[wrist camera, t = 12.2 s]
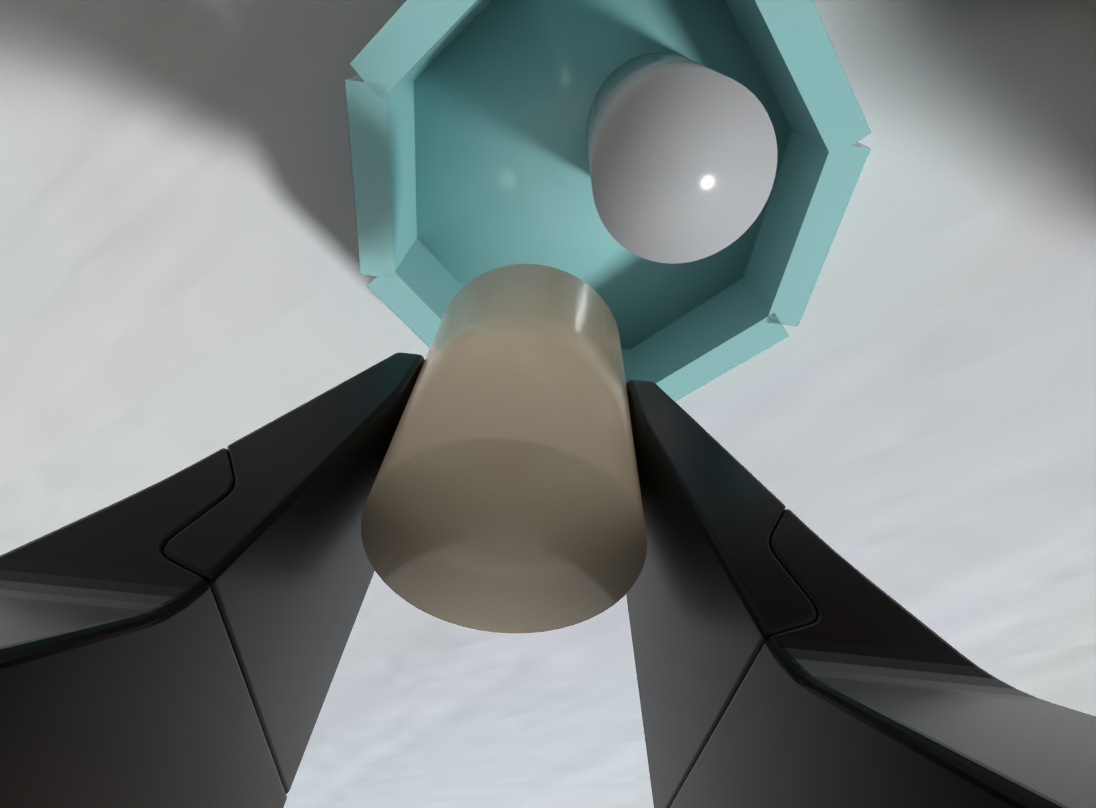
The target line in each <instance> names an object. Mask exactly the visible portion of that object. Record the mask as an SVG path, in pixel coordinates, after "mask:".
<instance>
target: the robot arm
mask: <svg viewBox="0 0 1096 808" xmlns="http://www.w3.org/2000/svg"><path fill="white" fill-rule="evenodd" d="M424 361H425V360H424V358H423V356H421V355H417V354H409V353H396V354H394V355H392V356H390V357H388V358H387V359H385V360H383V361H381V362H379V363H378V364H376V365H374V366H372V367H370V368H368V369H367V370H365V371H363V372H361V373H359V374H358V375H356V376H354V377H352V378H350V379H348V380H347V381H345V382H343V383H341V384H339V385H337V386H336V387H334V388H332V389H330V390H328V391H327V392H325V393H323V394H321V395H319V396H317V397H316V398H314V399H312V400H310V401H308V402H307V403H305V404H303V405H301V406H299V407H297V408H296V409H294V410H292V411H290V412H288V413H287V414H285V415H283V416H281V417H279V418H277V419H276V420H274V421H272V422H270V423H268V424H267V425H265V426H263V427H261V428H259V429H257V430H256V431H254V432H252V433H250V434H248V435H247V436H245V437H243V438H241V439H239V440H237V441H236V442H234V443H232V444H230V445H229V446H228V447H227V449H228V450H227V449H225V448H223V449H221V450H219V451H217V452H215V453H213V454H212V455H210V456H208V457H206V458H204V459H203V460H201V461H199V462H197V463H195V464H193V465H191V466H189V467H187V468H186V469H184V470H182V471H180V472H178V473H176V474H174V475H172V476H170V477H168V478H166V479H164V480H163V481H161V482H159V483H156V484H154V485H152V486H150V487H148V488H146V489H144V490H142V491H140V492H138V493H136V494H133V495H131V496H129V497H127V498H125V499H123V500H121V501H119V502H117V503H114V504H112V505H110V506H108V507H106V508H104V509H101V510H99V511H97V512H95V513H93V514H90V515H88V516H86V517H84V518H82V519H80V520H77V521H75V522H73V523H71V524H69V525H67V526H64V527H62V528H60V529H58V530H56V531H53V532H51V533H49V534H47V535H45V536H43V537H40V538H38V539H36V540H34V541H32V542H29V543H27V544H25V545H23V546H21V547H19V548H16V549H14V550H12V551H10V552H8V553H5V554H3V555H1V556H0V808H283V807H284V804H285V801H286V799H287V796H286V794H287V793H288V792H289V790H290V788H291V785H292V783H293V780H294V777H295V775H296V772H297V770H298V767H299V765H300V762H301V759H302V757H303V754H304V752H305V749H306V746H307V744H308V741H309V739H310V736H311V734H312V731H313V728H314V726H315V723H316V721H317V718H318V716H319V713H320V710H321V708H322V705H323V703H324V700H325V697H326V695H327V692H328V690H329V687H330V685H331V682H332V679H333V677H334V674H335V672H336V669H337V666H338V664H339V661H340V659H341V656H342V654H343V651H344V648H345V646H346V643H347V641H348V638H349V635H350V633H351V630H352V628H353V625H354V623H355V620H356V617H357V615H358V612H359V610H360V607H361V605H362V602H363V599H364V597H365V594H366V592H367V589H368V586H369V584H370V581H371V579H372V576H373V574H374V571H375V570H374V568H373V566H372V565H371V563H370V561H369V559H368V557H367V554H366V552H365V549H364V546H363V542H362V537H361V519H362V513H363V509H364V506H365V504H366V501H367V499H368V496H369V494H370V491H371V489H372V486H373V484H374V482H375V479H376V477H377V474H378V472H379V470H380V467H381V465H382V462H383V460H384V458H385V455H386V453H387V450H388V448H389V446H390V443H391V441H392V438H393V436H394V434H395V431H396V429H397V426H398V424H399V422H400V419H401V417H402V414H403V412H404V409H405V407H406V405H407V402H408V400H409V397H410V395H411V393H412V390H413V388H414V385H415V383H416V381H417V378H418V376H419V373H420V371H421V369H422V366H423V364H424ZM626 388H627V395H628V402H629V409H630V417H631V424H632V431H633V439H634V446H635V453H636V461H637V468H638V475H639V483H640V490H641V497H642V505H643V512H644V519H645V527H646V534H647V554H646V559H645V563H644V566H643V568H642V571H641V573H640V575H639V577H638V579H637V580H636V582H635V583H634V585H633V586H632V588H631V589H630V590H629V591H628V592H627V593H626V596H627V603H628V611H629V619H630V626H631V634H632V642H633V649H634V657H635V665H636V672H637V680H638V688H639V695H640V703H641V710H642V718H643V726H644V733H645V741H646V749H647V756H648V764H649V772H650V779H651V787H652V795H653V802H654V808H1096V717H1095V716H1092V715H1089V714H1086V713H1082V712H1079V711H1076V710H1073V709H1069V708H1066V707H1063V706H1060V705H1056V704H1053V703H1050V702H1047V701H1044V700H1042V699H1039V698H1036V697H1034V696H1032V695H1029V694H1027V693H1025V692H1022V691H1020V690H1018V689H1016V688H1014V687H1012V686H1010V685H1008V684H1006V683H1004V682H1002V681H1000V680H999V679H997V678H995V677H994V676H992V675H990V674H989V673H987V672H986V671H984V670H983V669H981V668H979V667H978V666H977V665H975V664H974V663H973V662H971V661H970V660H969V659H967V658H966V657H965V656H963V655H962V654H961V653H959V652H958V651H957V650H956V649H954V648H953V647H952V646H951V645H949V644H948V643H947V642H946V641H945V640H943V639H942V638H941V637H940V636H938V635H937V634H936V633H935V632H933V631H932V630H931V629H930V628H928V627H927V626H926V625H925V624H923V623H922V622H921V621H920V620H918V619H917V618H916V617H915V616H913V615H912V614H911V613H910V612H908V611H907V610H906V609H905V608H903V607H902V606H901V605H900V604H898V603H897V602H896V601H895V600H894V599H892V598H891V597H890V596H889V595H887V594H886V593H885V592H884V591H882V590H881V589H880V588H879V587H877V586H876V585H875V584H874V583H872V582H871V581H870V580H869V579H868V578H866V577H865V576H864V575H863V574H862V573H860V572H859V571H858V570H857V569H856V568H854V567H853V566H852V565H851V564H850V563H848V562H847V561H846V560H845V559H844V558H842V557H841V556H840V555H839V554H838V553H836V552H835V551H834V550H833V549H832V548H831V547H830V546H829V545H827V544H826V543H825V542H824V541H823V540H822V539H821V538H820V537H819V536H817V535H816V534H815V533H814V532H813V531H812V530H811V529H810V528H809V527H807V526H806V525H805V524H804V523H803V522H802V521H801V520H800V519H799V518H798V517H797V516H796V515H795V514H794V513H793V512H792V511H790V510H789V509H786V507H785V505H784V504H783V503H782V502H781V501H780V500H779V499H778V498H776V497H775V496H774V495H773V494H772V493H771V492H770V491H769V490H768V489H767V488H766V487H765V486H764V485H763V484H762V483H761V482H759V481H758V480H757V479H756V478H755V477H754V476H753V475H752V474H751V473H750V472H749V471H748V470H747V469H746V468H745V467H744V466H743V465H741V464H740V463H739V462H738V461H737V460H736V459H735V458H734V457H733V456H732V455H731V454H730V453H729V452H728V451H727V450H726V449H724V448H723V447H722V446H721V445H720V444H719V443H718V442H717V441H716V440H715V439H714V438H713V437H712V436H711V435H710V434H709V433H707V432H706V431H705V430H704V429H703V428H702V427H701V426H700V425H699V424H698V423H697V422H696V421H695V420H694V419H693V418H692V417H691V416H689V415H688V414H687V413H686V412H685V411H684V410H683V409H682V408H681V407H680V406H679V405H678V404H677V403H676V402H675V401H674V400H672V399H671V398H670V397H669V396H668V395H667V394H666V393H665V392H664V391H663V390H662V389H661V388H660V387H659V386H658V385H657V384H655V383H654V382H651V381H644V380H635V379H631V380H629V381H628V382H627V384H626ZM785 509H786V510H785Z"/></svg>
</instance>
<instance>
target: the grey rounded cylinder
mask: <svg viewBox="0 0 1096 808" xmlns="http://www.w3.org/2000/svg"><path fill="white" fill-rule="evenodd" d="M587 146H588V156H589V165H590V175H591V184H592V192H593V198H594V202H595V206H596V209H597V212H598V214H599V217H600V219H601V221H602V223H603V224H604V226H605V228H606V229H607V231H608V232H609V233H610V234H611V236H612V237H613V238H614V239H615V240H616V241H617V242H618V243H619V244H620V245H621V246H622V247H624V248H625V249H627V250H628V251H630V252H631V253H633V254H635V255H637V256H639V257H641V258H644V259H647V260H650V261H654V262H660V263H670V264H675V263H686V262H692V261H696V260H699V259H703V258H706V257H708V256H710V255H713V254H715V253H717V252H719V251H721V250H722V249H724V248H726V247H727V246H729V245H730V244H731V243H733V242H734V241H735V240H737V239H738V238H739V237H740V236H741V235H742V234H743V233H744V232H745V231H746V230H747V229H748V228H749V227H750V226H751V225H752V223H753V222H754V221H755V220H756V218H757V217H758V215H759V214H760V212H761V211H762V209H763V207H764V205H765V203H766V202H767V200H768V197H769V195H770V192H771V190H772V186H773V183H774V179H775V175H776V168H777V142H776V136H775V132H774V128H773V125H772V122H771V120H770V118H769V115H768V113H767V112H766V110H765V108H764V107H763V105H762V103H761V102H760V101H759V100H758V99H757V98H756V96H755V95H754V94H753V93H752V92H751V91H749V90H748V89H747V88H746V87H745V86H743V85H742V84H740V83H739V82H737V81H735V80H734V79H732V78H729V77H727V76H725V75H723V74H721V73H718V72H716V71H714V70H712V69H710V68H707V67H705V66H703V65H701V64H699V63H697V62H694V61H692V60H690V59H688V58H685V57H683V56H680V55H678V54H673V53H667V52H654V53H648V54H644V55H640V56H638V57H635V58H633V59H631V60H629V61H627V62H625V63H624V64H622V65H621V66H620V67H618V68H617V69H616V70H615V71H614V72H612V73H611V74H610V75H609V76H608V78H607V79H606V80H605V81H604V83H603V84H602V85H601V87H600V88H599V90H598V92H597V93H596V96H595V98H594V100H593V102H592V105H591V108H590V111H589V115H588V120H587Z"/></svg>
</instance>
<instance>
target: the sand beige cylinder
mask: <svg viewBox="0 0 1096 808" xmlns="http://www.w3.org/2000/svg"><path fill="white" fill-rule="evenodd" d="M361 537H362V542H363V546H364V549H365V552H366V554H367V557H368V559H369V561H370V563H371V565H372V566H373V568H374V570H375V571H376V572H377V574H378V575H379V576H380V577H381V579H382V580H383V581H384V582H385V583H386V584H387V585H388V586H389V587H390V588H391V589H392V590H393V591H394V592H395V593H396V594H398V595H399V596H400V597H402V598H403V599H404V600H406V601H407V602H409V603H410V604H412V605H413V606H415V607H417V608H418V609H420V610H422V611H424V612H426V613H428V614H430V615H432V616H434V617H437V618H439V619H442V620H444V621H447V622H450V623H453V624H457V625H460V626H463V627H468V628H472V629H477V630H483V631H490V632H500V633H533V632H543V631H549V630H555V629H560V628H564V627H567V626H571V625H575V624H577V623H580V622H583V621H585V620H588V619H590V618H592V617H594V616H596V615H598V614H600V613H602V612H603V611H605V610H607V609H608V608H610V607H611V606H613V605H614V604H615V603H616V602H618V601H619V600H620V599H621V598H622V597H624V595H625V594H626V593H627V592H628V591H629V590H630V589H631V588H632V586H633V585H634V583H635V582H636V580H637V579H638V577H639V575H640V573H641V571H642V568H643V566H644V563H645V559H646V554H647V534H646V527H645V519H644V512H643V505H642V497H641V490H640V483H639V475H638V468H637V461H636V453H635V446H634V439H633V431H632V424H631V417H630V409H629V402H628V395H627V388H626V380H625V373H624V366H623V358H622V351H621V344H620V337H619V331H618V327H617V324H616V321H615V318H614V316H613V314H612V312H611V310H610V308H609V307H608V306H607V304H606V303H605V301H604V300H603V299H602V297H601V296H600V295H599V294H598V293H597V292H596V291H595V290H594V289H593V288H591V287H590V286H589V285H588V284H587V283H585V282H584V281H582V280H581V279H579V278H577V277H576V276H574V275H572V274H570V273H567V272H565V271H563V270H560V269H557V268H553V267H549V266H544V265H539V264H514V265H508V266H503V267H499V268H496V269H493V270H490V271H487V272H485V273H483V274H481V275H479V276H477V277H476V278H474V279H473V280H471V281H470V282H469V283H467V284H466V285H465V286H464V287H463V288H462V289H461V290H460V291H459V292H458V293H457V294H456V295H455V296H454V298H453V299H452V300H451V302H450V304H449V305H448V307H447V309H446V311H445V313H444V316H443V318H442V321H441V323H440V325H439V328H438V330H437V333H436V335H435V337H434V340H433V342H432V345H431V347H430V349H429V352H428V354H427V357H426V359H425V361H424V364H423V366H422V369H421V371H420V373H419V376H418V378H417V381H416V383H415V385H414V388H413V390H412V393H411V395H410V397H409V400H408V402H407V405H406V407H405V409H404V412H403V414H402V417H401V419H400V422H399V424H398V426H397V429H396V431H395V434H394V436H393V438H392V441H391V443H390V446H389V448H388V450H387V453H386V455H385V458H384V460H383V462H382V465H381V467H380V470H379V472H378V474H377V477H376V479H375V482H374V484H373V486H372V489H371V491H370V494H369V496H368V499H367V501H366V504H365V506H364V509H363V513H362V519H361Z"/></svg>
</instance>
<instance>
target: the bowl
mask: <svg viewBox="0 0 1096 808" xmlns="http://www.w3.org/2000/svg"><path fill="white" fill-rule="evenodd" d="M654 52H667V53H673V54H678V55H680V56H683V57H685V58H688V59H690V60H692V61H694V62H697V63H699V64H701V65H703V66H705V67H707V68H710V69H712V70H714V71H716V72H718V73H721V74H723V75H725V76H727V77H729V78H732V79H734V80H735V81H737V82H739V83H740V84H742V85H743V86H745V87H746V88H747V89H748V90H749V91H751V92H752V93H753V94H754V95H755V96H756V98H757V99H758V100H759V101H760V102H761V103H762V105H763V107H764V108H765V110H766V112H767V113H768V115H769V118H770V120H771V122H772V125H773V128H774V132H775V136H776V142H777V168H776V175H775V179H774V183H773V186H772V190H771V192H770V195H769V197H768V200H767V202H766V203H765V205H764V207H763V209H762V211H761V212H760V214H759V215H758V217H757V218H756V220H755V221H754V222H753V223H752V225H751V226H750V227H749V228H748V229H747V230H746V231H745V232H744V233H743V234H742V235H741V236H740V237H739V238H738V239H737V240H735V241H734V242H733V243H731V244H730V245H729V246H727V247H726V248H724V249H722V250H721V251H719V252H717V253H715V254H713V255H710V256H708V257H706V258H703V259H699V260H696V261H692V262H686V263H675V264H670V263H660V262H654V261H650V260H647V259H644V258H641V257H639V256H637V255H635V254H633V253H631V252H630V251H628V250H627V249H625V248H624V247H622V246H621V245H620V244H619V243H618V242H617V241H616V240H615V239H614V238H613V237H612V236H611V234H610V233H609V232H608V231H607V229H606V228H605V226H604V224H603V223H602V221H601V219H600V217H599V214H598V212H597V209H596V206H595V202H594V198H593V192H592V184H591V175H590V165H589V156H588V146H587V120H588V115H589V111H590V108H591V105H592V102H593V100H594V98H595V96H596V93H597V92H598V90H599V88H600V87H601V85H602V84H603V83H604V81H605V80H606V79H607V78H608V76H609V75H610V74H611V73H612V72H614V71H615V70H616V69H617V68H618V67H620V66H621V65H622V64H624V63H625V62H627V61H629V60H631V59H633V58H635V57H638V56H640V55H644V54H648V53H654ZM350 65H351V66H352V67H353V69H354V70H355V71H356V72H357V73H358V74H359V75H357V76H354V77H351V78H348V79H345V89H346V101H347V113H348V125H349V138H350V150H351V162H352V175H353V187H354V199H355V211H356V224H357V236H358V248H359V261H360V273H361V275H368V276H374V277H373V278H372V279H371V281H370V282H369V283H368V285H367V287H368V288H369V289H370V290H371V291H372V292H373V293H374V294H375V295H376V296H377V297H378V298H379V299H380V300H381V301H382V302H383V303H384V304H385V305H386V306H387V307H388V308H389V309H390V310H391V311H392V312H393V313H394V314H395V315H396V316H397V317H399V318H400V319H401V320H402V321H403V322H404V323H405V324H406V325H407V326H408V327H409V328H410V329H411V330H412V331H413V332H414V333H415V334H416V335H417V336H418V337H419V338H420V339H421V340H422V341H423V342H424V343H425V344H426V345H427V346H428V347H429V348H430V347H431V345H432V342H433V340H434V337H435V335H436V333H437V330H438V328H439V325H440V323H441V321H442V318H443V316H444V313H445V311H446V309H447V307H448V305H449V304H450V302H451V300H452V299H453V298H454V296H455V295H456V294H457V293H458V292H459V291H460V290H461V289H462V288H463V287H464V286H465V285H466V284H467V283H469V282H470V281H471V280H473V279H474V278H476V277H477V276H479V275H481V274H483V273H485V272H487V271H490V270H493V269H496V268H499V267H503V266H508V265H514V264H539V265H544V266H549V267H553V268H557V269H560V270H563V271H565V272H567V273H570V274H572V275H574V276H576V277H577V278H579V279H581V280H582V281H584V282H585V283H587V284H588V285H589V286H590V287H591V288H593V289H594V290H595V291H596V292H597V293H598V294H599V295H600V296H601V297H602V299H603V300H604V301H605V303H606V304H607V306H608V307H609V308H610V310H611V312H612V314H613V316H614V318H615V321H616V324H617V327H618V331H619V337H620V344H621V351H622V358H623V366H624V373H625V380H626V384H627V382H628V381H629V380H631V379H635V380H644V381H651V382H654V383H655V384H657V385H658V386H659V387H660V388H661V389H662V390H663V391H664V392H665V393H666V394H667V395H668V396H669V397H670V398H671V399H672V400H674V401H677V400H679V399H680V398H682V397H684V396H686V395H687V394H689V393H691V392H693V391H694V390H696V389H698V388H700V387H701V386H703V385H705V384H707V383H708V382H710V381H712V380H714V379H715V378H717V377H719V376H721V375H722V374H724V373H726V372H728V371H729V370H731V369H733V368H734V367H736V366H738V365H740V364H741V363H743V362H745V361H747V360H748V359H750V358H752V357H754V356H755V355H757V354H759V353H761V352H762V351H764V350H766V349H768V348H769V347H771V346H773V345H775V344H776V343H778V342H780V341H782V340H783V339H785V338H787V337H788V336H789V335H788V333H787V332H786V330H785V328H784V327H783V325H790V326H798V325H799V323H800V320H801V318H802V316H803V313H804V311H805V308H806V306H807V303H808V301H809V298H810V296H811V293H812V291H813V289H814V286H815V284H816V281H817V279H818V276H819V274H820V271H821V269H822V266H823V264H824V262H825V259H826V257H827V254H828V252H829V249H830V247H831V244H832V242H833V240H834V237H835V235H836V232H837V230H838V227H839V225H840V222H841V220H842V217H843V215H844V213H845V210H846V208H847V205H848V203H849V200H850V198H851V195H852V193H853V190H854V188H855V186H856V183H857V181H858V178H859V176H860V173H861V171H862V168H863V166H864V164H865V161H866V159H867V156H868V154H869V151H870V149H871V148H869V147H867V146H865V145H863V144H861V143H859V142H858V141H859V140H861V139H862V138H864V137H865V136H867V135H868V134H870V133H871V131H870V129H869V127H868V124H867V122H866V120H865V117H864V115H863V113H862V111H861V108H860V106H859V104H858V102H857V99H856V97H855V95H854V93H853V90H852V88H851V86H850V84H849V81H848V79H847V77H846V75H845V72H844V70H843V68H842V66H841V63H840V61H839V59H838V56H837V54H836V52H835V50H834V47H833V45H832V43H831V41H830V38H829V36H828V34H827V32H826V29H825V27H824V25H823V23H822V20H821V18H820V16H819V14H818V11H817V9H816V7H815V5H814V2H813V0H406V2H405V3H404V4H403V5H402V6H401V7H400V8H399V9H398V10H397V12H396V13H395V14H394V15H393V16H392V17H391V18H390V19H389V20H388V22H387V23H386V24H385V25H384V26H383V27H382V28H381V29H380V30H379V32H378V33H377V34H376V35H375V36H374V37H373V38H372V39H371V40H370V42H369V43H368V44H367V45H366V46H365V47H364V48H363V49H362V50H361V52H360V53H359V54H358V55H357V56H356V57H355V58H354V59H353V60H352V62H351V63H350Z"/></svg>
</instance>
